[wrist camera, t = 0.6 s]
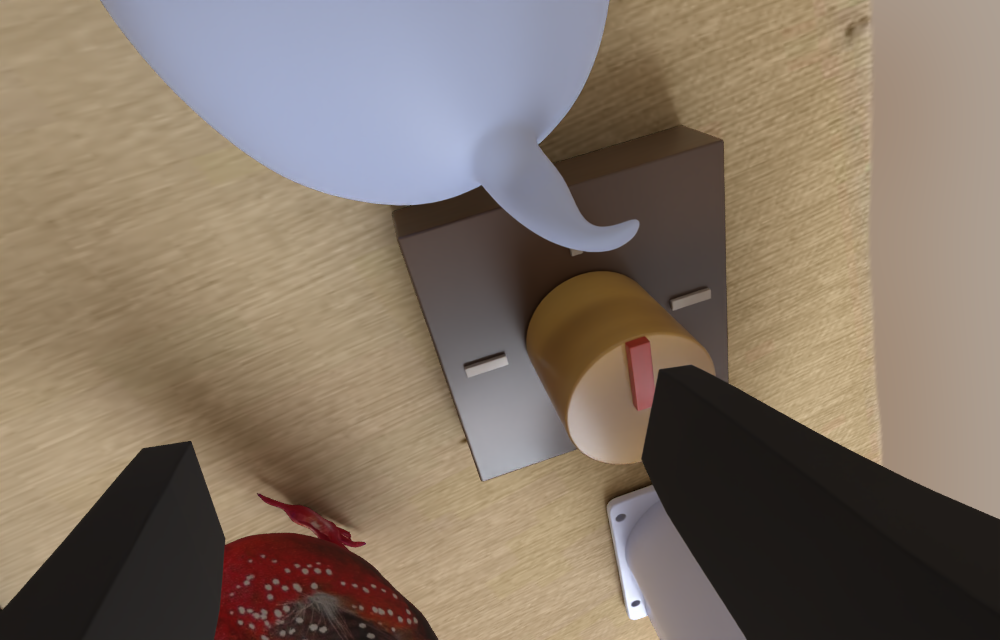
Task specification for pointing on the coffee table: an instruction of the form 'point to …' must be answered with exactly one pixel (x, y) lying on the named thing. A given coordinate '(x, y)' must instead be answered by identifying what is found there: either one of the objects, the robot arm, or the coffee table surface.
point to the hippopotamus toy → (389, 94)
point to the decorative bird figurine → (310, 588)
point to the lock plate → (563, 279)
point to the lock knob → (606, 360)
